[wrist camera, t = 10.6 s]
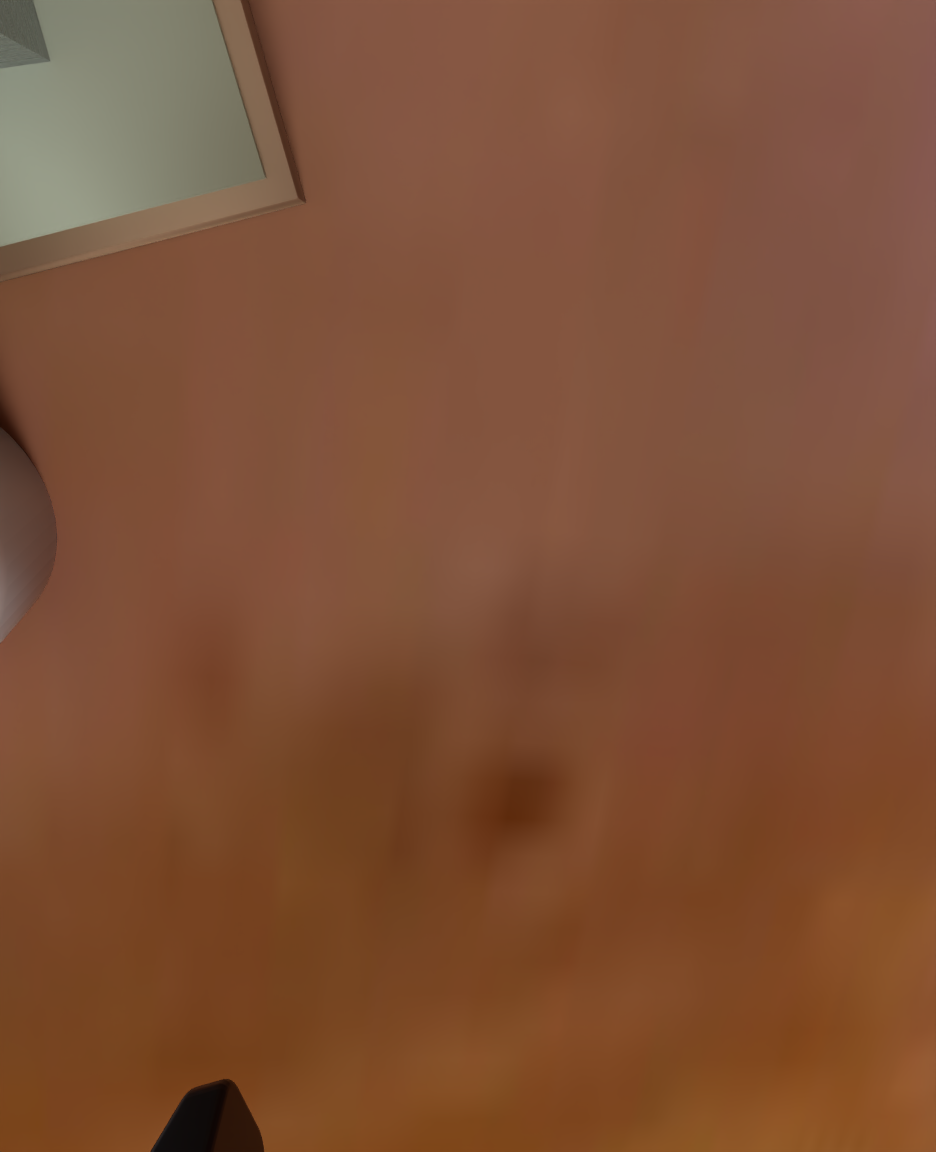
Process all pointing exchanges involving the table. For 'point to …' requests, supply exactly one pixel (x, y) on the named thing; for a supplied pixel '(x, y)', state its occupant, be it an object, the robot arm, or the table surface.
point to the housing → (20, 34)
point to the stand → (137, 130)
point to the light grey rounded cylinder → (22, 534)
